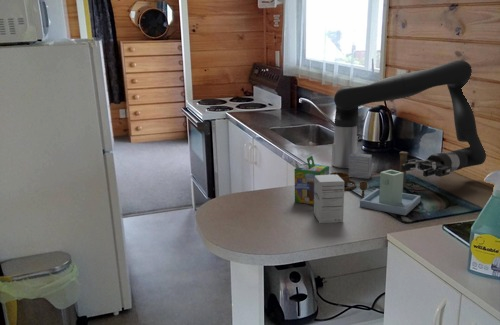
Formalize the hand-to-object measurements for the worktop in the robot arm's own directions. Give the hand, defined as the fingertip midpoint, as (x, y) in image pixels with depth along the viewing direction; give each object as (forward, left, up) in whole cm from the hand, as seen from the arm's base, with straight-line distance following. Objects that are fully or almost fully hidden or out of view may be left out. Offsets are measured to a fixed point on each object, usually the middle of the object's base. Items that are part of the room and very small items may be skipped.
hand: (413, 170), depth 155 cm
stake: (-6, +10, -9) cm, 15 cm away
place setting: (-24, -4, -10) cm, 26 cm away
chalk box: (-26, -20, -10) cm, 35 cm away
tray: (-3, -10, -9) cm, 14 cm away
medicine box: (-24, +15, -10) cm, 30 cm away
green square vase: (-4, -10, -9) cm, 14 cm away
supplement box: (-14, -32, -10) cm, 37 cm away
